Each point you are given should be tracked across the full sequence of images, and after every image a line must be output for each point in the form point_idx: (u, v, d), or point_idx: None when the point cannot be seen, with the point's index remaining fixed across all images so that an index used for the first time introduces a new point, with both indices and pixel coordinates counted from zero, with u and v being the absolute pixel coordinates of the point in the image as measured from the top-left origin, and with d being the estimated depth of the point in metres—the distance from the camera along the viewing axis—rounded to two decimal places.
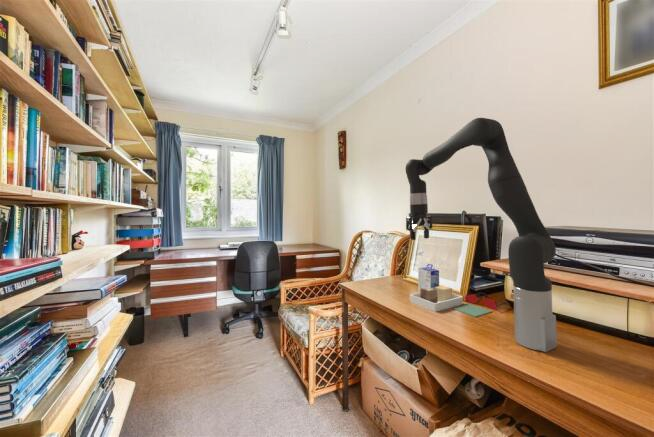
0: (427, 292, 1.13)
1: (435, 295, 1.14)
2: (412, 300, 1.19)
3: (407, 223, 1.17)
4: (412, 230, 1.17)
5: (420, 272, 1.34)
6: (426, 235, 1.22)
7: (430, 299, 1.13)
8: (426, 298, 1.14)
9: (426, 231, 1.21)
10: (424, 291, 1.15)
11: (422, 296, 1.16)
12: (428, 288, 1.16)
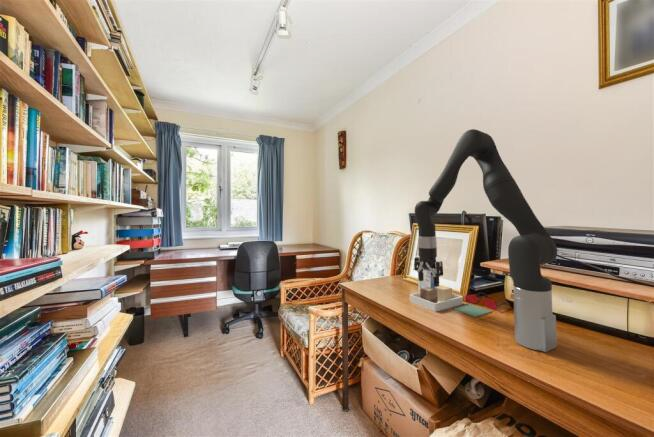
0: (427, 292, 1.13)
1: (435, 295, 1.14)
2: (412, 300, 1.19)
3: (440, 269, 1.09)
4: None
5: None
6: (422, 277, 1.20)
7: (430, 299, 1.13)
8: (426, 298, 1.14)
9: (422, 273, 1.20)
10: (424, 291, 1.15)
11: (422, 296, 1.16)
12: (428, 288, 1.16)
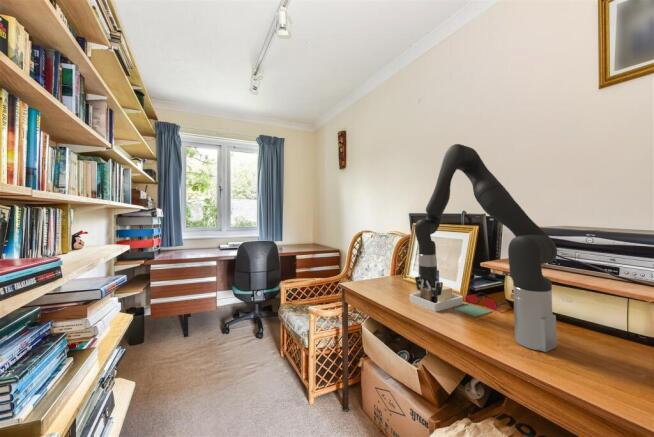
0: (427, 292, 1.13)
1: None
2: (412, 300, 1.19)
3: (439, 289, 1.10)
4: None
5: None
6: None
7: (430, 299, 1.13)
8: (426, 298, 1.14)
9: None
10: (424, 291, 1.15)
11: (422, 296, 1.16)
12: (428, 288, 1.16)
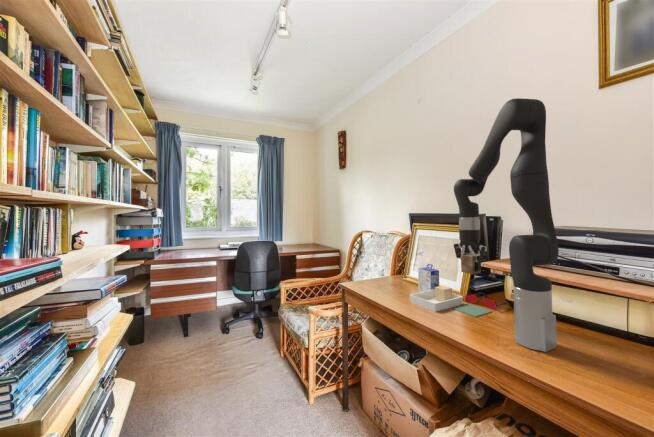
0: (470, 258, 1.04)
1: None
2: (412, 300, 1.19)
3: (484, 254, 1.01)
4: (480, 260, 1.04)
5: (420, 272, 1.34)
6: None
7: (473, 265, 1.04)
8: (469, 265, 1.05)
9: None
10: (466, 257, 1.06)
11: (463, 263, 1.07)
12: (470, 254, 1.07)
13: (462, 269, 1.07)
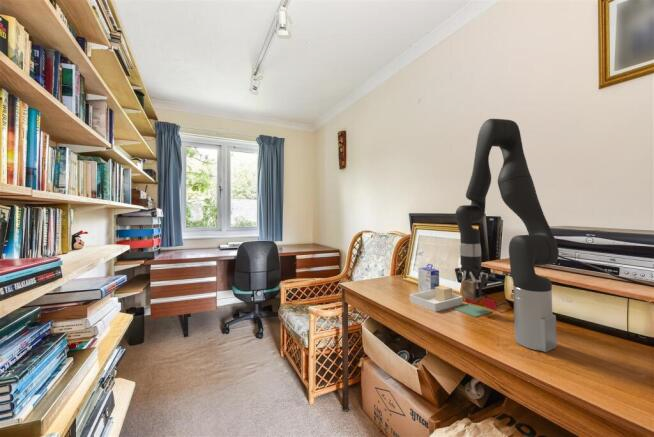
0: (471, 284, 1.04)
1: None
2: (412, 300, 1.19)
3: (485, 281, 1.01)
4: None
5: (420, 272, 1.34)
6: None
7: (474, 292, 1.04)
8: (469, 291, 1.05)
9: None
10: (467, 283, 1.06)
11: (464, 289, 1.07)
12: (471, 280, 1.07)
13: (463, 294, 1.08)
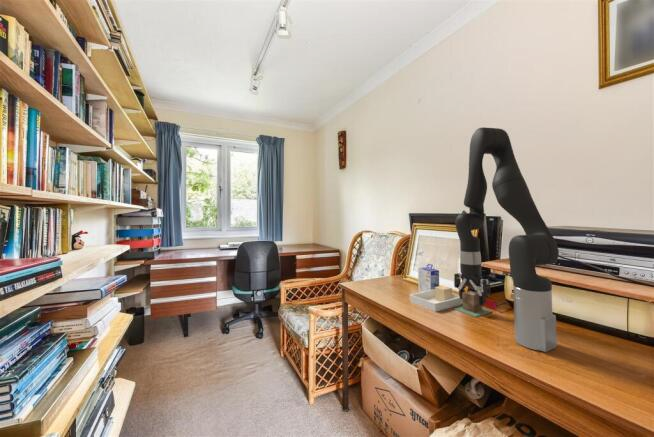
0: (471, 296, 1.04)
1: None
2: (412, 300, 1.19)
3: (487, 287, 1.00)
4: None
5: (420, 272, 1.34)
6: None
7: (475, 304, 1.04)
8: (470, 303, 1.05)
9: (463, 291, 1.11)
10: (467, 295, 1.06)
11: (465, 301, 1.07)
12: (471, 292, 1.07)
13: (463, 306, 1.08)
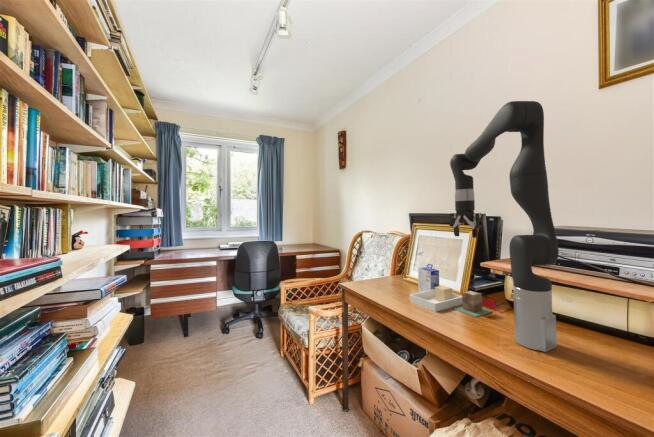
0: (471, 296, 1.04)
1: (480, 300, 1.05)
2: (412, 300, 1.19)
3: (479, 220, 1.08)
4: (478, 227, 1.11)
5: (420, 272, 1.34)
6: (458, 233, 1.19)
7: (475, 304, 1.04)
8: (470, 303, 1.05)
9: (458, 229, 1.19)
10: (467, 295, 1.06)
11: (465, 301, 1.07)
12: (471, 292, 1.07)
13: (463, 306, 1.08)
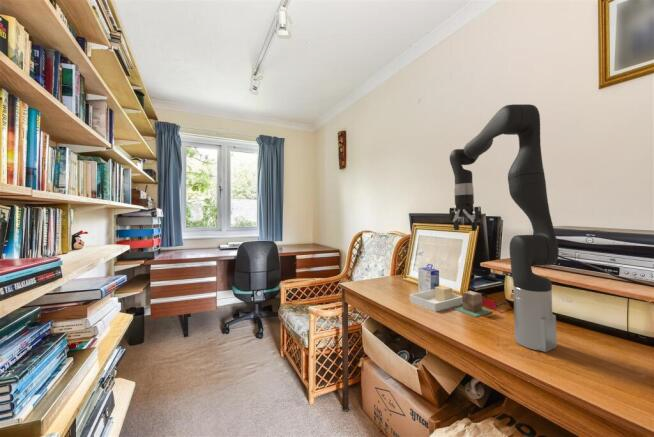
0: (471, 296, 1.04)
1: (480, 300, 1.05)
2: (412, 300, 1.19)
3: (478, 213, 1.11)
4: None
5: (420, 272, 1.34)
6: (457, 227, 1.21)
7: (475, 304, 1.04)
8: (470, 303, 1.05)
9: (457, 223, 1.21)
10: (467, 295, 1.06)
11: (465, 301, 1.07)
12: (471, 292, 1.07)
13: (463, 306, 1.08)
